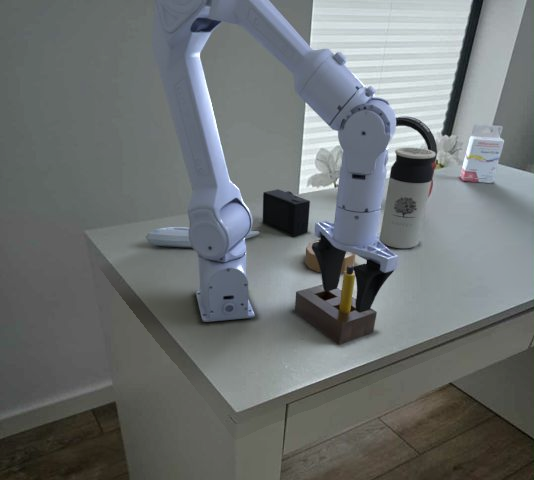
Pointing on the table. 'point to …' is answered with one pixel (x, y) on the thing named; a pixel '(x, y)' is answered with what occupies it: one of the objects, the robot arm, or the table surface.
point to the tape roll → (313, 263)
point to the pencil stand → (333, 314)
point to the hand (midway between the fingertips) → (346, 299)
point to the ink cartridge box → (482, 154)
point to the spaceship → (176, 237)
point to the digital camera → (286, 212)
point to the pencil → (347, 290)
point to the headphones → (424, 133)
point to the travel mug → (407, 197)
